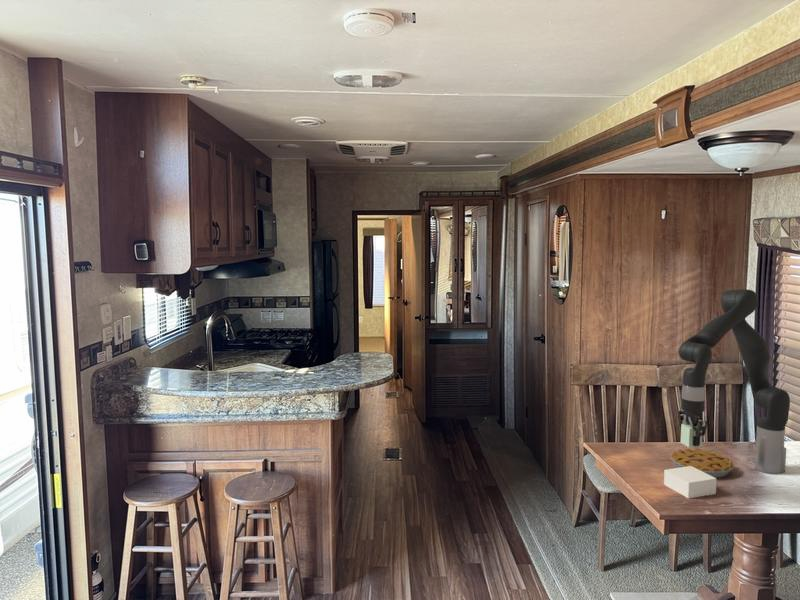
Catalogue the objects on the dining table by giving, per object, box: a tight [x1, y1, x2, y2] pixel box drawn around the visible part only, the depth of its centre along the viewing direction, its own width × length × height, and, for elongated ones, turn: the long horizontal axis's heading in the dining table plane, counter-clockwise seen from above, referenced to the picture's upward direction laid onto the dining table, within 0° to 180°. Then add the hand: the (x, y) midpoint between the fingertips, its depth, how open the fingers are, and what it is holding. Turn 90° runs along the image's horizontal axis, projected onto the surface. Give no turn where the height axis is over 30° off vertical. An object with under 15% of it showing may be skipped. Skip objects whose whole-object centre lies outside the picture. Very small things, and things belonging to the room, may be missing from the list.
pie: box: [670, 448, 735, 479], centre depth 225 cm, size 22×22×5 cm
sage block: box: [680, 423, 703, 448], centre depth 205 cm, size 5×5×7 cm
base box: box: [663, 466, 717, 499], centre depth 207 cm, size 12×12×6 cm
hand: (691, 442), depth 205 cm, fingers closed on sage block, 5 cm apart
